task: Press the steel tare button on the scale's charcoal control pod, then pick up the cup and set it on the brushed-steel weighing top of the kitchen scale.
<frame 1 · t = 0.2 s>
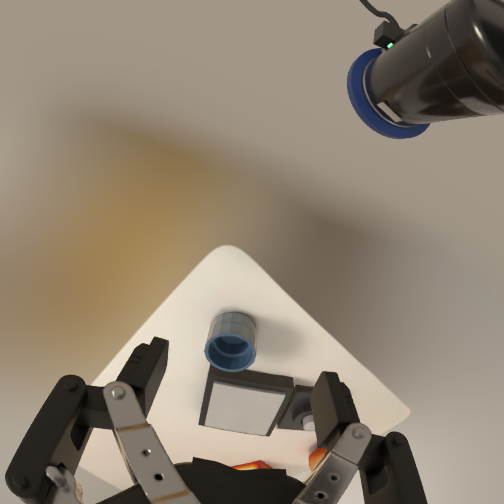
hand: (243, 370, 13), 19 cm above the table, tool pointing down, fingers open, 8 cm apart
baking soda box: (249, 469, 47), on the table
tare button: (312, 422, 36), point 3 cm above the table, slide at 0.1 cm
cup: (233, 329, 34), on the table
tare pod: (309, 407, 39), on the table
fruit: (327, 446, 44), on the table
scale: (243, 399, 39), on the table
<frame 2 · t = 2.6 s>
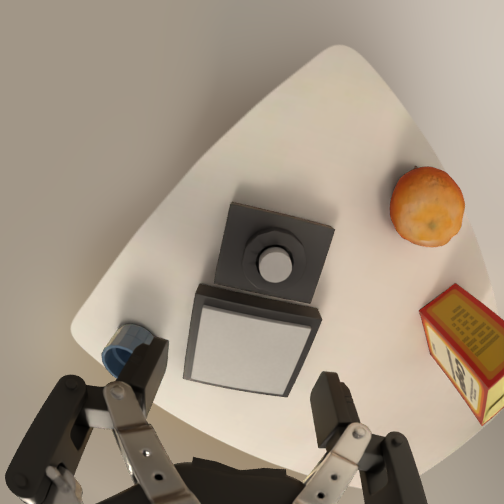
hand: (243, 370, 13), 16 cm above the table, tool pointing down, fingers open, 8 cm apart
baking soda box: (442, 320, 31), on the table
tare button: (275, 264, 24), point 3 cm above the table, slide at 0.1 cm
cup: (138, 341, 31), on the table
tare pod: (272, 252, 27), on the table
fruit: (408, 201, 26), on the table
scale: (247, 341, 31), on the table
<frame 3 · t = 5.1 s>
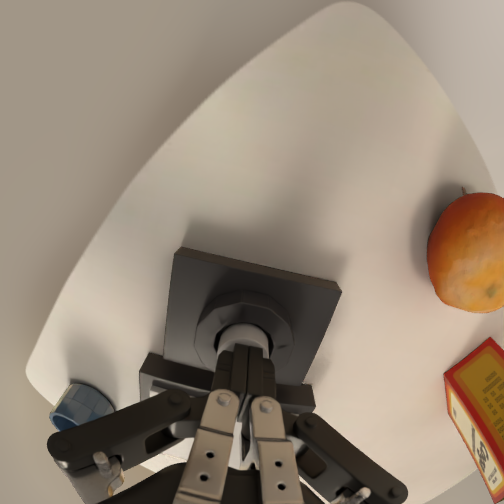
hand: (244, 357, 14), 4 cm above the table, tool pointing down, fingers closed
baking soda box: (468, 378, 21), on the table
tare button: (243, 350, 15), point 3 cm above the table, slide at 0.0 cm, touching gripper
cup: (93, 400, 22), on the table
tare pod: (245, 320, 18), on the table
fruit: (450, 238, 16), on the table
scale: (218, 416, 21), on the table
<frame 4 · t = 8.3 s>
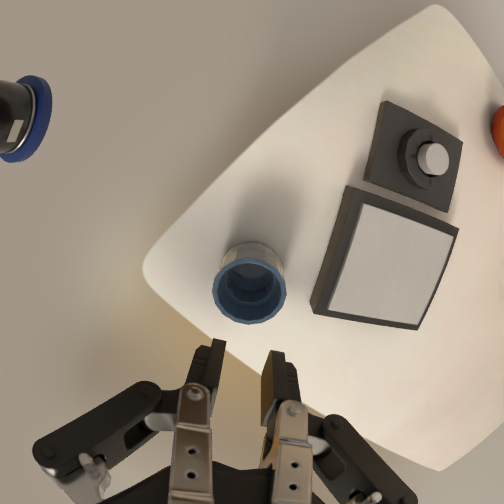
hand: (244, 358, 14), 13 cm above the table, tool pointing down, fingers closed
tare button: (433, 159, 19), point 3 cm above the table, slide at 0.1 cm
cup: (251, 270, 26), on the table
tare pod: (414, 158, 22), on the table
fruit: (499, 134, 21), on the table
scale: (384, 261, 26), on the table
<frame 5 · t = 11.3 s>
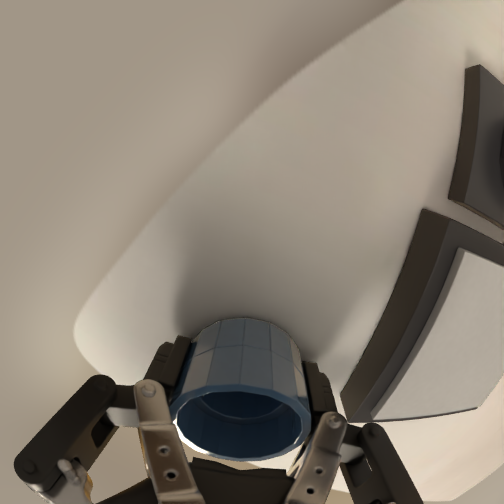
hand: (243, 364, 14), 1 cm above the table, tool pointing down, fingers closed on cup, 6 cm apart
cup: (244, 357, 14), on the table, touching gripper
scale: (456, 328, 13), on the table
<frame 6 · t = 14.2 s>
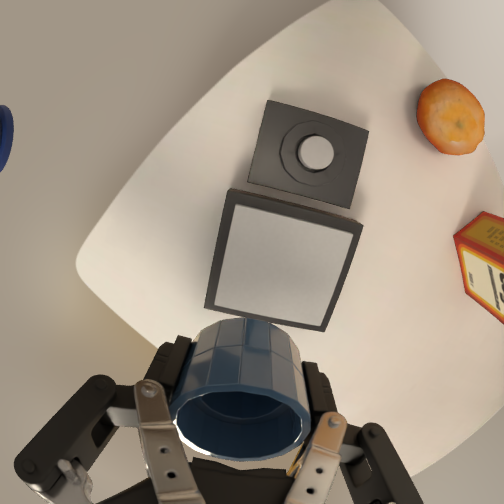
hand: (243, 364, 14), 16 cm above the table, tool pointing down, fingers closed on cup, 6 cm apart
baking soda box: (474, 253, 28), on the table
tare button: (315, 152, 22), point 3 cm above the table, slide at 0.1 cm
cup: (244, 357, 14), point 15 cm above the table, touching gripper
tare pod: (308, 154, 25), on the table
fruit: (431, 119, 23), on the table
scale: (280, 260, 28), on the table
when the fingers open (4 cm above the table, at t = 17.6 s): cup stays where it is, resting on scale.
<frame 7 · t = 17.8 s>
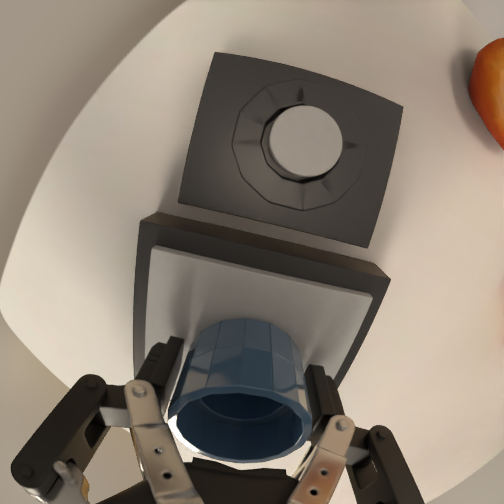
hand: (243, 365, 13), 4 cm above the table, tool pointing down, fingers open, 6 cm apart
tare button: (303, 142, 10), point 3 cm above the table, slide at 0.1 cm
cup: (244, 358, 14), point 3 cm above the table, touching scale
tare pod: (293, 147, 14), on the table
fruit: (486, 101, 12), on the table
scale: (246, 328, 17), on the table
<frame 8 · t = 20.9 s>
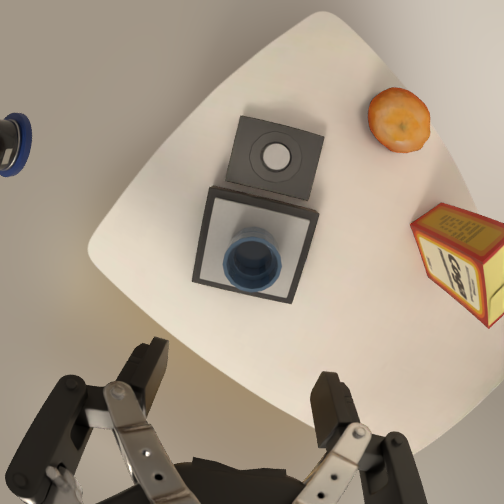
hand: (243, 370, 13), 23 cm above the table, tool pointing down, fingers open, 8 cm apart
baking soda box: (434, 240, 34), on the table
tare button: (276, 156, 28), point 3 cm above the table, slide at 0.1 cm
cup: (253, 250, 32), point 3 cm above the table, touching scale
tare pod: (274, 157, 32), on the table
fruit: (386, 123, 30), on the table
scale: (253, 243, 35), on the table
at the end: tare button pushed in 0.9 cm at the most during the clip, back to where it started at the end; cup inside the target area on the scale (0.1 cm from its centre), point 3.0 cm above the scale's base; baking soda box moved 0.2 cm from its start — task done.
